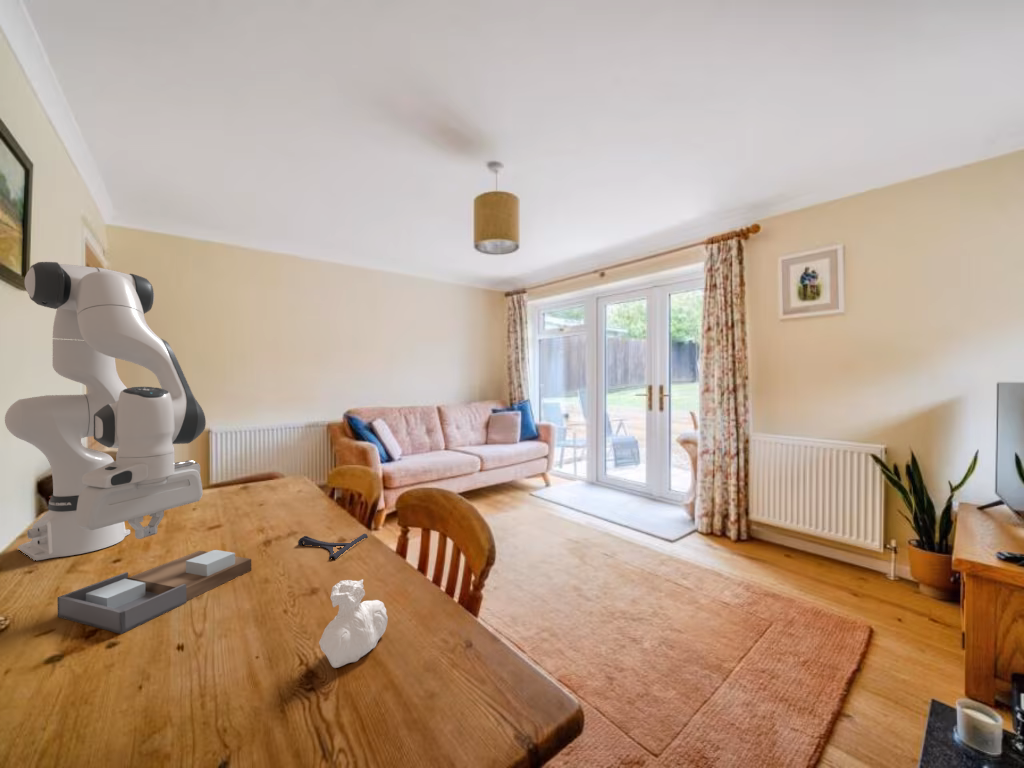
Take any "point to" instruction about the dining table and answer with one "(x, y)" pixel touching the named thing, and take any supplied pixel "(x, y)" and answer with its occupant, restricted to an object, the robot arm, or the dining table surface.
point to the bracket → (330, 544)
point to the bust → (352, 624)
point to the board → (188, 576)
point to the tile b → (210, 562)
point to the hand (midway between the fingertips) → (146, 536)
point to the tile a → (117, 593)
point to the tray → (122, 616)
